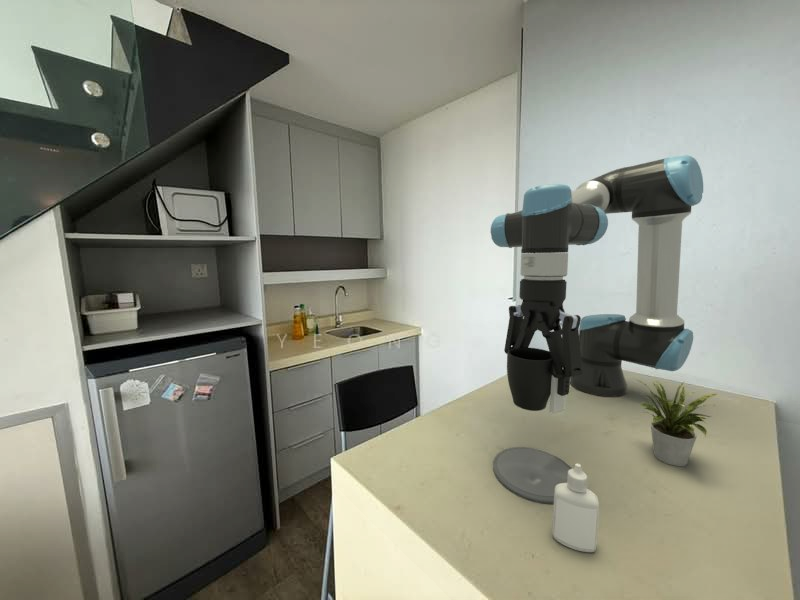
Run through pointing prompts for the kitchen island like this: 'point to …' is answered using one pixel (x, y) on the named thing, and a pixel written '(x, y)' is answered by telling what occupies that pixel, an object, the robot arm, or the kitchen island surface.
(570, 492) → the eye dropper bottle
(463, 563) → the kitchen island surface
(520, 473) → the round gray plate
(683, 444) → the house plant
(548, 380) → the mug
